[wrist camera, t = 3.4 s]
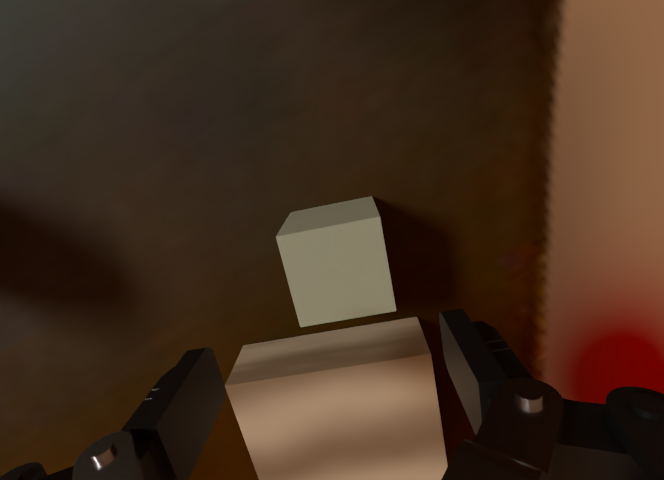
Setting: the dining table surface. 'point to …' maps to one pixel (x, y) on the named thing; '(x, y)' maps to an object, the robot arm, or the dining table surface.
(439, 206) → the dining table surface
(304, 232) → the white block
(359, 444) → the birch base
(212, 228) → the dining table surface
